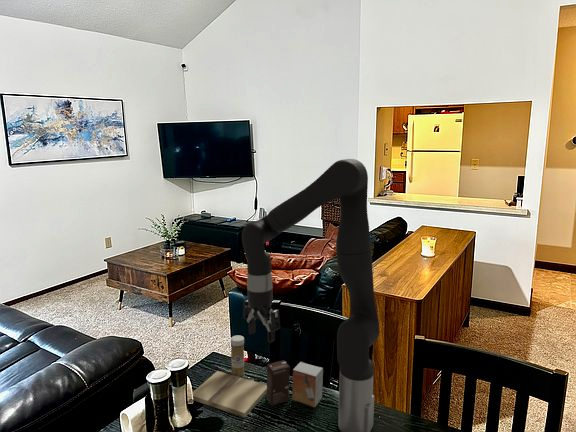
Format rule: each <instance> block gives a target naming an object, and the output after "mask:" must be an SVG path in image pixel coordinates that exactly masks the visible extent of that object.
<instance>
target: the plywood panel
mask: <svg viewBox="0 0 576 432" xmlns="http://www.w3.org/2000/svg"><path fill="white" fill-rule="evenodd" d="M192 392H193V398H194V400H193V401H194V402H198V403H201V404H203V405H206V406H208V407H209V406H210V407H213V408H216V409H218V410H221V411H225V412H227V413H230V414H233V415H237V416H239V417H241V418H246V417H247V416H248V415H249V414H250V413H251V411H252V410H253V409H254V408H255V406H257V404H258V403H260V401H261V400H262V399H263V398H264V397H265V396H266V395H267V384H264V383H261V382H258V381H254V380H251V379H247V378H243V377H242V376H241V377H238V376H234V375H232V374H231V373H230V374H229V373H226V372H223V371H219V370H216V371H215V372H214V373H213V374H212V375H211V376H210V377H208V378H207V379H206V380H205V381H204V382H203V383H201V385H199V386H198V387H197V388H196V389H195V390H194V391H192Z"/></svg>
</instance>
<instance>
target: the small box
mask: <svg viewBox="0 0 576 432" xmlns="http://www.w3.org/2000/svg"><path fill="white" fill-rule="evenodd" d="M323 374H324V368H323V367H321V366H316V365H312V364H310V363H309V364H308V363H305V362H304V361H299V363H297V365H296V366H295V367H294V368H293V369H292V392H291V393H292V394H291V395H292V396H291V397H292V398H291V399H292V401H295V402H299V403H302V404H304V405H307V406H310V407H312V408H316V407H317V406H318V404H319V402H321V400H322V399H323V380H324V379H323V378H324V377H323V376H324V375H323Z"/></svg>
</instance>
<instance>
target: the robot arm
mask: <svg viewBox="0 0 576 432" xmlns="http://www.w3.org/2000/svg"><path fill="white" fill-rule="evenodd" d="M368 175H369V174H368V171H367V169H366V166H365V165H364V164H363V163H362V162H361V161H359V160H358V159H355V158H344V159H340V160H337V161H335V162H333V164H331V165H330V166H328V168H327V169H326V170H325V171H324V172H323V173H321V175H320V176H318V177H317V178H316V179H315V180H314V181H313V182H311V183H310V184H309V185H308V186H307V187H305V188H304V189H302V190H301V191H299V192H297V193H296V194H294V195H293V196H291V197H290V198H287V200H284V201H283V202H281V203H280V204H279V205H277V206H275V207H274V208H273V209H272V208H271V210H269V212H268V214H266V215H265V216H262V217H261V218H260V219H257V220H256V221H255V220H254V221H252V222H250V223H247V224H246V225H244V227H243V229H242V233H241V243H242V247H243V251H244V254H245V258H246V260H247V261H246V262H247V263H246V264H247V265H246V267H247V278H246V289H247V299H245V300H244V301H242V319H244V320H246V322H247V324H248V326H247V329H248V334H250V335H254V334H255V333H256V332H257V331H256V330H257V328H256V327H257V324H256V322H257V321H256V320H259V321H261V322H262V325H263V326H265V328H266V330H267V332H266V333H267V336H266V337H267V343H268V344H271V343H273V342H275V340H276V331H278V330H280V329H281V318H280V310H279V308H278V309H273V308H272V303H273V301H274V296H273V292H274V291H273V290H274V289H273V276H272V258H271V255H270V254H269V253H268V252H266V251H265V245H264V244H266V243H267V242H270V241H271V240H272V239H274V238H276V237H277V236H278V235H280V234H281V233H282V232H284V231H286V230H288V229H290V228H292V227H294V226H295V225H297V224H299V223H300V222H301V221H303V220H304V219H306V218H307V217H308V216H309V215H311V213H313V212H315V211H316V210H317V209H318V208H320V207H322V206H324V205H325V204H327V203H329V202H331V201H335V200H337V199H339V205H340V216H339V222H338V223H339V224H338V228H337V233H336V246H335V251H336V263H337V270H338V273H339V275H340V277H341V279H342V281H343V284H344V285H345V287H346V289H347V292H348V295H349V307H350V314H349V317H348V318H347V319H346V320H344V321H343V322H341V324H340V325H339V326H338V330H337V335H336V354H337V355H336V358H337V362H338V365H339V383H338V384H339V385H338V390H339V391H338V412H337V413H338V414H337V415H338V418H337V420H338V422H337V427H338V429H339V431H340V432H371V431H372V428H373V427H374V416H375V415H374V414H375V413H374V411H375V395H374V376H375V375H374V374H375V373H374V372H375V365H374V362H373V360H372V359H370V347H371V346H372V345H374V343H375V342H376V341H377V340H378V338H379V335H380V321H379V315H378V311H377V305H376V299H375V286H374V284H375V283H374V274H373V272H374V271H373V270H374V269H373V255H372V243H371V235H370V234H371V233H370V225H369V224H370V223H369V215H368V186H369V176H368ZM268 319H269V320H268Z"/></svg>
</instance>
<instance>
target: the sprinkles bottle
mask: <svg viewBox="0 0 576 432" xmlns="http://www.w3.org/2000/svg"><path fill="white" fill-rule="evenodd" d="M244 345H245V337H244V336H242V335H238V334H237V335H233V336H232V337H230V346H231V347H230V354H231V355H230V359H231V360H230V361H231V373H230V375H234V376H238V377H241V378H242V377H243V376H244V375H245V351H244V350H245V349H244V348H245V347H244Z"/></svg>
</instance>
